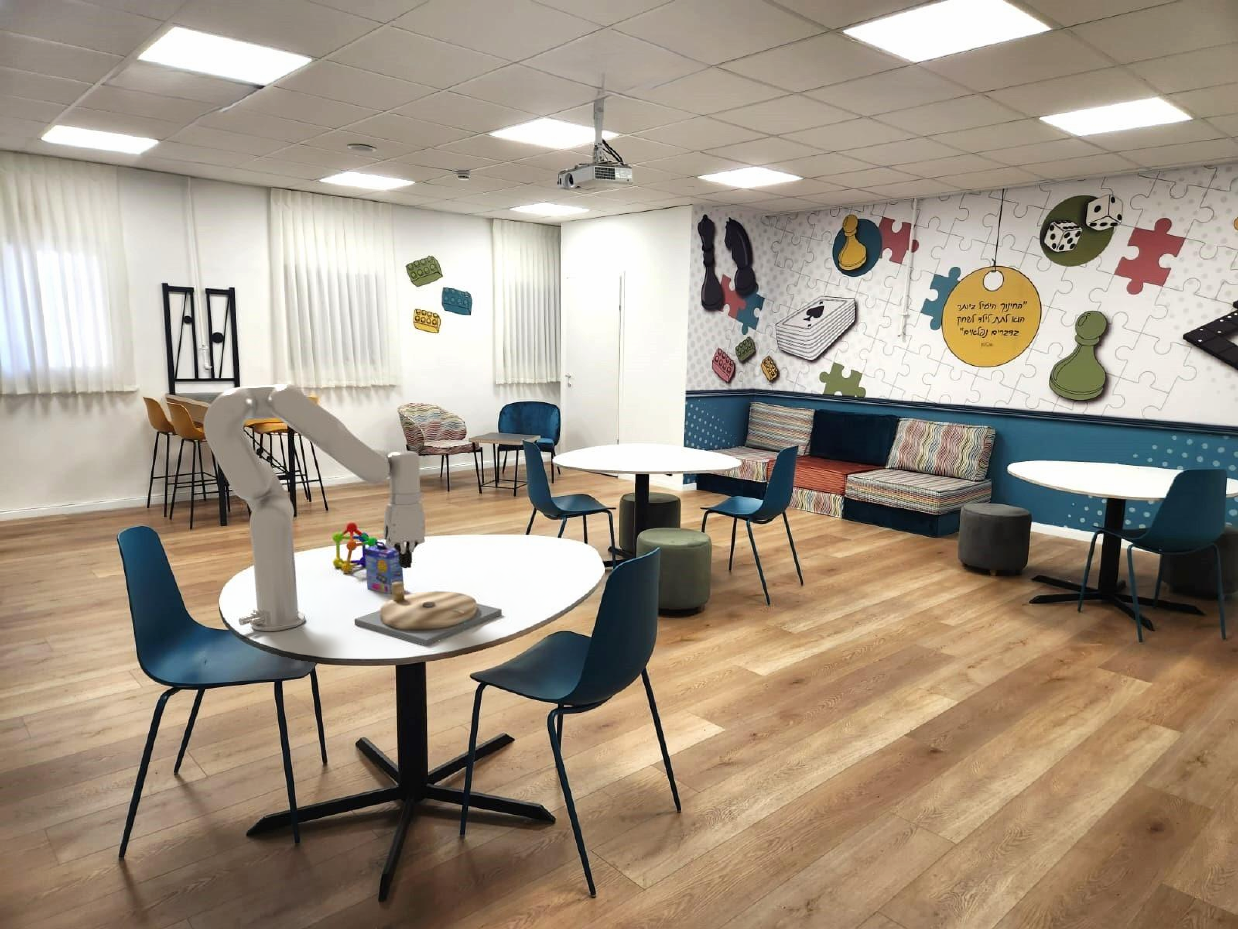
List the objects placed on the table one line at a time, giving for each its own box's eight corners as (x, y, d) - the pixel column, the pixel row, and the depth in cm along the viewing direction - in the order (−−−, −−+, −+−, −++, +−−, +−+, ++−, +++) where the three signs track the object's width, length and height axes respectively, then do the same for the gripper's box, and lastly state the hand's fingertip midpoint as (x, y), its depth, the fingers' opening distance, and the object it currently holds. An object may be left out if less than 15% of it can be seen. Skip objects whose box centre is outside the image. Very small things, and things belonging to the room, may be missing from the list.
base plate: (426, 646, 191) (426, 639, 191) (354, 624, 205) (354, 618, 205) (501, 614, 212) (501, 608, 212) (431, 597, 227) (431, 591, 226)
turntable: (495, 607, 213) (495, 583, 212) (432, 636, 192) (431, 610, 191) (426, 593, 225) (425, 571, 224) (359, 619, 204) (358, 595, 203)
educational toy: (385, 570, 257) (385, 524, 254) (348, 579, 248) (347, 532, 244) (358, 557, 267) (358, 513, 264) (322, 565, 258) (321, 519, 254)
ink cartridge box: (365, 589, 234) (363, 540, 232) (380, 584, 239) (377, 536, 237) (390, 594, 229) (387, 544, 227) (404, 589, 234) (402, 540, 232)
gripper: (424, 493, 219) (424, 559, 222) (371, 499, 210) (372, 568, 212) (437, 498, 214) (437, 565, 217) (384, 504, 204) (385, 574, 207)
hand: (405, 566), depth 214 cm, fingers closed
